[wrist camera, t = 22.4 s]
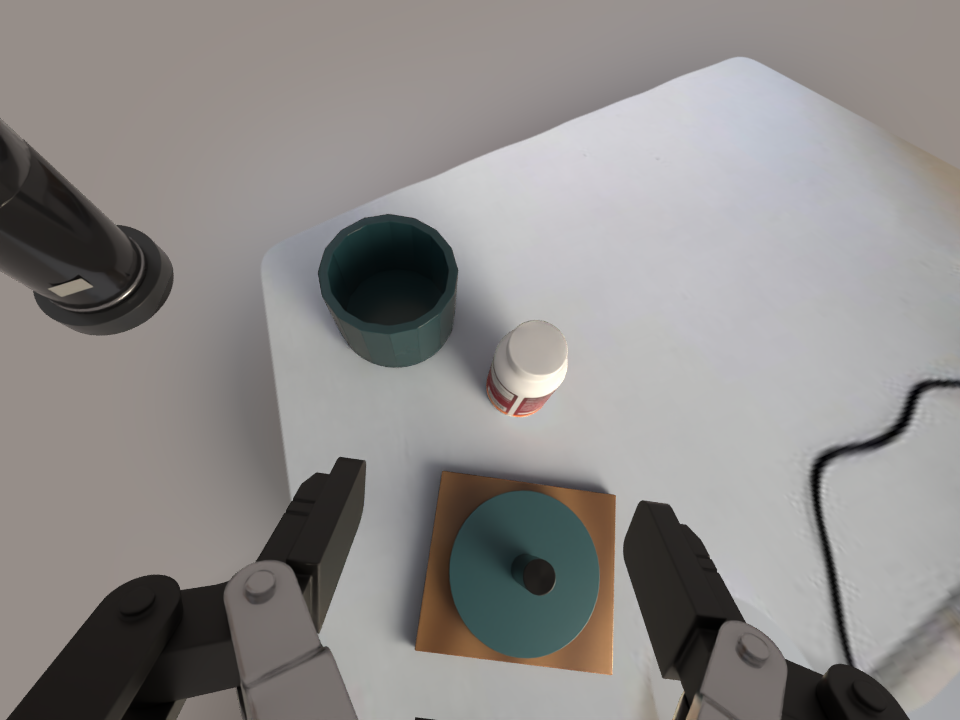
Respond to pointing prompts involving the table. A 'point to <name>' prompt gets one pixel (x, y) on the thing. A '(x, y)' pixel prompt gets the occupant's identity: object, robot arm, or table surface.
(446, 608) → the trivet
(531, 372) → the pill bottle
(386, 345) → the pot
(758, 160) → the table surface
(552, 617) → the lid
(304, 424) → the table surface
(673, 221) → the table surface
